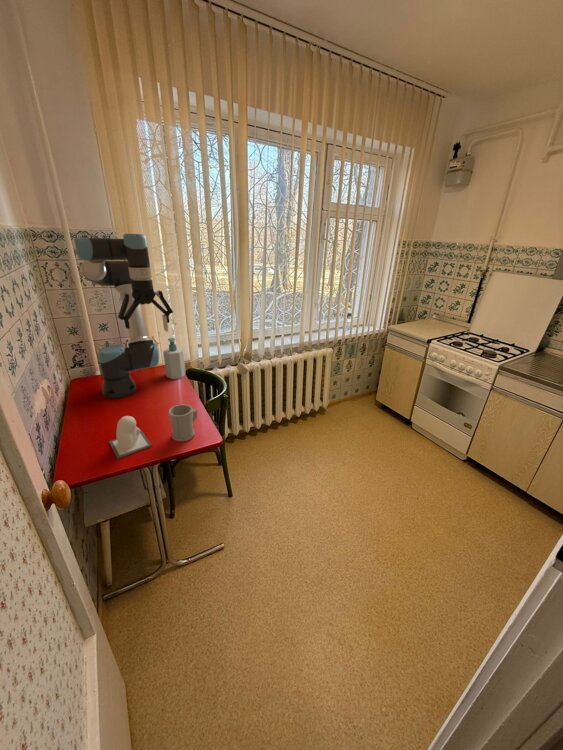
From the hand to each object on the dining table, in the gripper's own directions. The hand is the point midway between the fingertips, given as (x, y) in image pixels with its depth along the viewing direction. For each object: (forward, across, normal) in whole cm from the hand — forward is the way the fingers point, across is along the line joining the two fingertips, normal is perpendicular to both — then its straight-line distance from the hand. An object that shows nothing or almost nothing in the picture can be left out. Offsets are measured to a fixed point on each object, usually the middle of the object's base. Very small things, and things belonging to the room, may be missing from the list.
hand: (149, 333), depth 122 cm
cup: (+37, +1, -23) cm, 43 cm away
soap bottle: (+37, +20, +32) cm, 53 cm away
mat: (+37, -18, -17) cm, 44 cm away
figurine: (+36, -18, -17) cm, 44 cm away
